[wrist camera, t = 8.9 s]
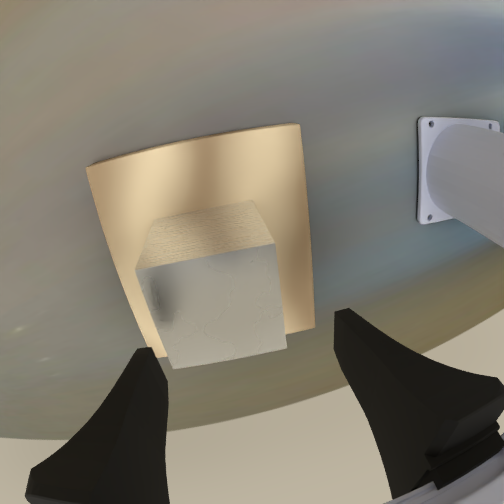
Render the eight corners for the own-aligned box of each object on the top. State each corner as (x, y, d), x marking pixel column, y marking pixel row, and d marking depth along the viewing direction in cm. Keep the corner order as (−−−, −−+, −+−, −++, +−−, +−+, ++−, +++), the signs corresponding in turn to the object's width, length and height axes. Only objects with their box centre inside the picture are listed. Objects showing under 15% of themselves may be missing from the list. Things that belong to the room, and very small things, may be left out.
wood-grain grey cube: (252, 199, 18) (275, 242, 12) (264, 284, 20) (286, 348, 15) (154, 219, 17) (134, 270, 12) (178, 301, 20) (173, 369, 14)
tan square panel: (292, 123, 17) (330, 130, 12) (308, 315, 24) (335, 370, 18) (93, 163, 17) (51, 187, 11) (155, 345, 23) (147, 405, 18)
